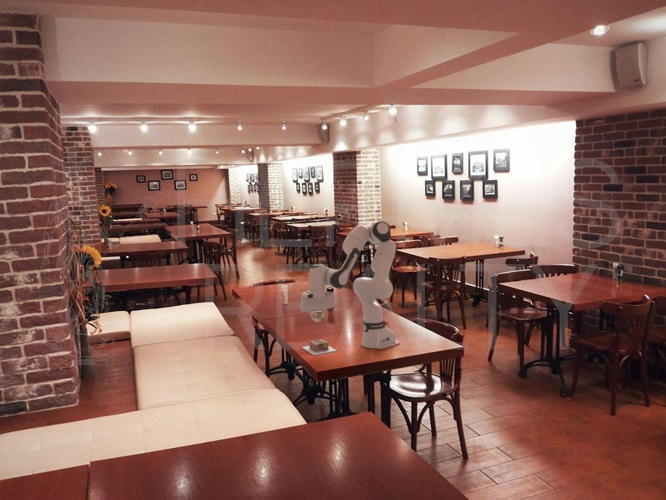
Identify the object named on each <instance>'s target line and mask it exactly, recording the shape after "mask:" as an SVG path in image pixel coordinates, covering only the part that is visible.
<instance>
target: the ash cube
mask: <svg viewBox="0 0 666 500" xmlns="http://www.w3.org/2000/svg"><path fill="white" fill-rule="evenodd" d="M312 314H313V315H315V318H313V319H312V318H311V321H313V322H315V323H319V322H325V317H324V312H323V310H314V311H313V313H312Z"/></svg>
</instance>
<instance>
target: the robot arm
mask: <svg viewBox="0 0 666 500" xmlns="http://www.w3.org/2000/svg"><path fill="white" fill-rule="evenodd" d="M391 238H392V234H391V227H390V224H389V223H388V222H387V221H386V220H378V221H376V222H374V223H373V225H372V226H369V227H367V226H366V225H364V224H357V225H356V226H354V227H353V229H351V231H350V232H349V234H347V236H346V237H345V239H344V241H343V242H342V249H343V252H344V253H345V254H346V259H345V260H344V262H343V264H342V265H341V267H340V268H339V269H335V268H330V267H328V266H326V265H325V264H323V263H315V264H312V265H311V266H310V267H309V270H308V271H309V274H308V281H309V287H308V288H309V289H308V290H306V291H303V292H302V293H301V298H300V304H299V309H300V311H301V312H304V313H305V312H307V313H309V315H310V318H311V320H312V319H313V318H315V315H313V314H312V313H313V311H322V312H324V318H325V317H326V314H327V310H328V309H329V310H330V309H333V308H335V307H336V303H335V293H334V292H332V291H326V286H328V287H333V288H336V289H343V288H345V287H347V284H348V283H349V279H350V276H351V274H352V272H353V270H354V269H355V266H356V264H357V263H358V262H359V259H360V256H361V251H362V249H363V248H364V246H365V245H366V243H367V244H370V245H371V246H377V247H376V250H375V253H374V256H373V258H372V261H371V264H370V268H371V271H372V272H374V276H373V277H367V276H363V277H362V276H361V277H357V278H355V279H354V281H353V283H352V290H353V292H354V294H356V295H357V297H358V298H359V300H360V302H361V306H362V315H363V317H362V318H363V320H362V339H361V344H360V345H361V347H363V348H368V349H379V350H382V349H387V348H390V347H393V346H397V345H400V340H398V339H396V334H395V332H394V331H393V330H391V329H390V328H388V327H387V326H388V325H389V323H390V321H387V320H384V319H383V318H384V317H383V312H384V311H383V307H382V305H381V304H380V303H379V302H378V301H377V299H382V300H383V299H389V298H390V297H391V296H392V294H393V291H394V287H393V284H392V282H391V280H390V270H391V267H392V265H393V261H394V259H395V255H396V250H397V245H396V243H395V242H394V241H393V240H391ZM386 325H387V326H386Z"/></svg>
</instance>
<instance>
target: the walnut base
mask: <svg viewBox="0 0 666 500" xmlns="http://www.w3.org/2000/svg"><path fill="white" fill-rule="evenodd" d="M308 343H309V346H310V349H312V350H314V351H315V352H317V351H323V350H328V349H329V342H328V341H327V340H325V339H323V338H320V339H315V340H309V342H308Z"/></svg>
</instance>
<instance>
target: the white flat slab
mask: <svg viewBox="0 0 666 500" xmlns="http://www.w3.org/2000/svg"><path fill="white" fill-rule="evenodd" d="M301 349H303V350H305V351H306V352H308V353H309V354H310V355H312V356H314V357H315V356H318V355H319V356H320V355H325V354H330V353H336V352H338V350H337V349H335V348H333V347H331V346H329V349H328V350H323V351H317V352H315V351H314V350H312V349H310V345H305V346H302V347H301Z"/></svg>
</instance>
